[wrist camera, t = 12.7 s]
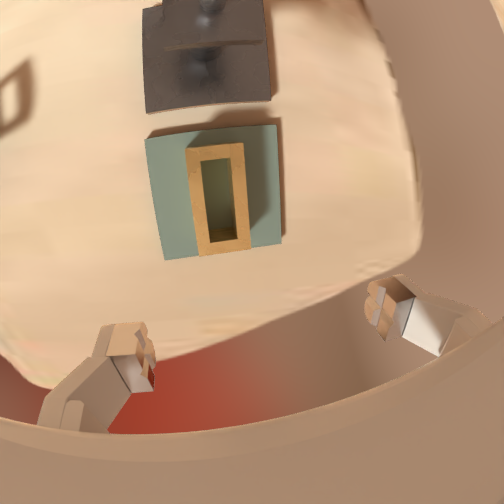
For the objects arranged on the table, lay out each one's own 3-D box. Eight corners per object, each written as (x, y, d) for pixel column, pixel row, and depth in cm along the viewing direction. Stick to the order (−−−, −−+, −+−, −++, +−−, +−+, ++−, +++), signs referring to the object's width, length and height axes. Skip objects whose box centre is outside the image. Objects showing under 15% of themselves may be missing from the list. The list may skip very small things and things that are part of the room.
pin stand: (144, 14, 18) (107, -75, 4) (259, 5, 20) (320, -81, 5) (148, 114, 23) (89, 93, 9) (267, 102, 25) (352, 74, 11)
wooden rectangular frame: (186, 147, 25) (184, 149, 22) (237, 141, 26) (243, 142, 22) (198, 242, 29) (199, 256, 26) (244, 235, 30) (251, 248, 27)
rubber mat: (146, 139, 24) (144, 139, 24) (273, 124, 26) (276, 124, 26) (165, 256, 30) (164, 260, 29) (279, 240, 32) (281, 243, 31)
